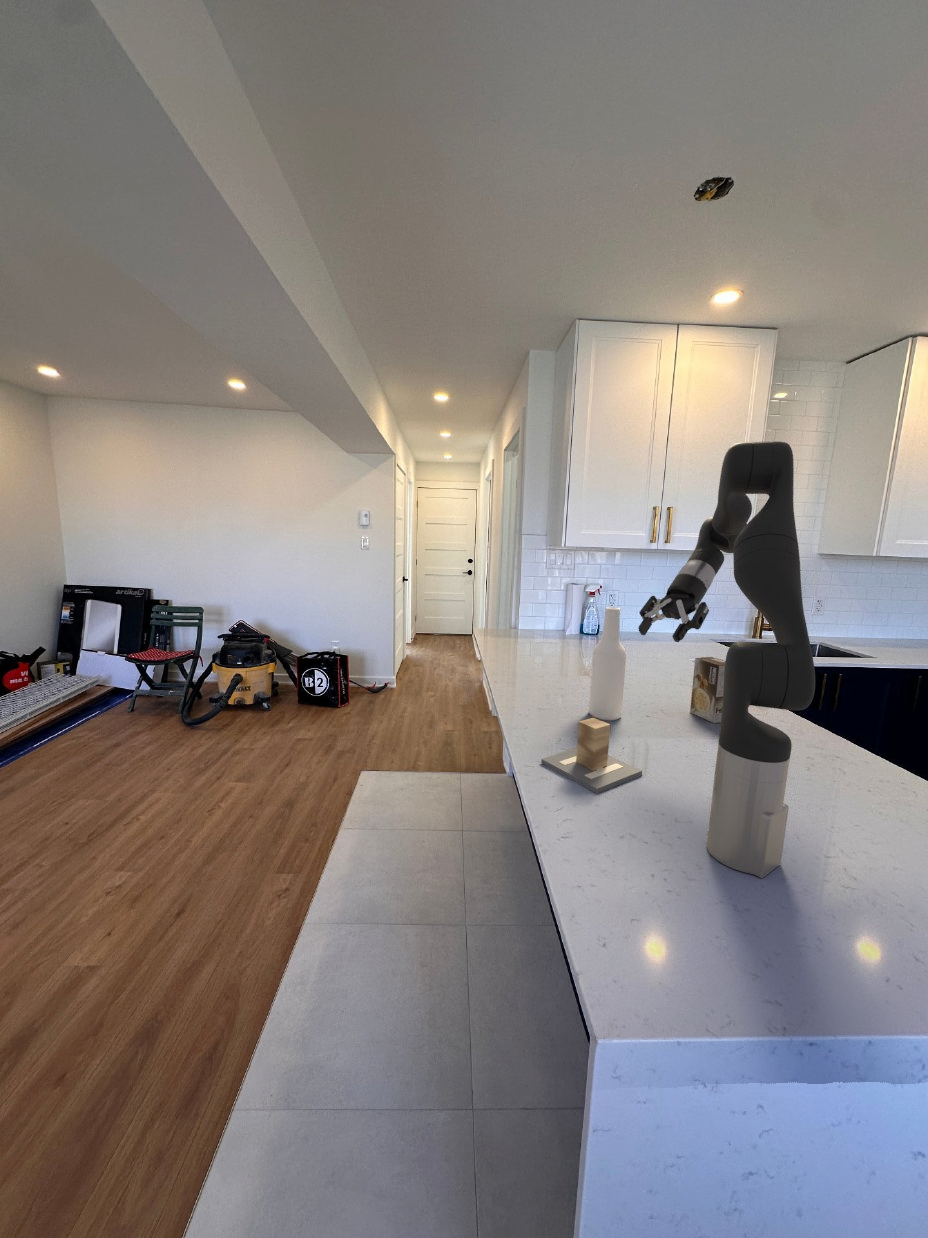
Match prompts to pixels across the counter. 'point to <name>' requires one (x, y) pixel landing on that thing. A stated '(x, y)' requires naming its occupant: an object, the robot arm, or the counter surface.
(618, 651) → the alcohol
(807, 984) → the counter surface
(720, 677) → the coffee box
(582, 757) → the oak block
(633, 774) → the letter board
